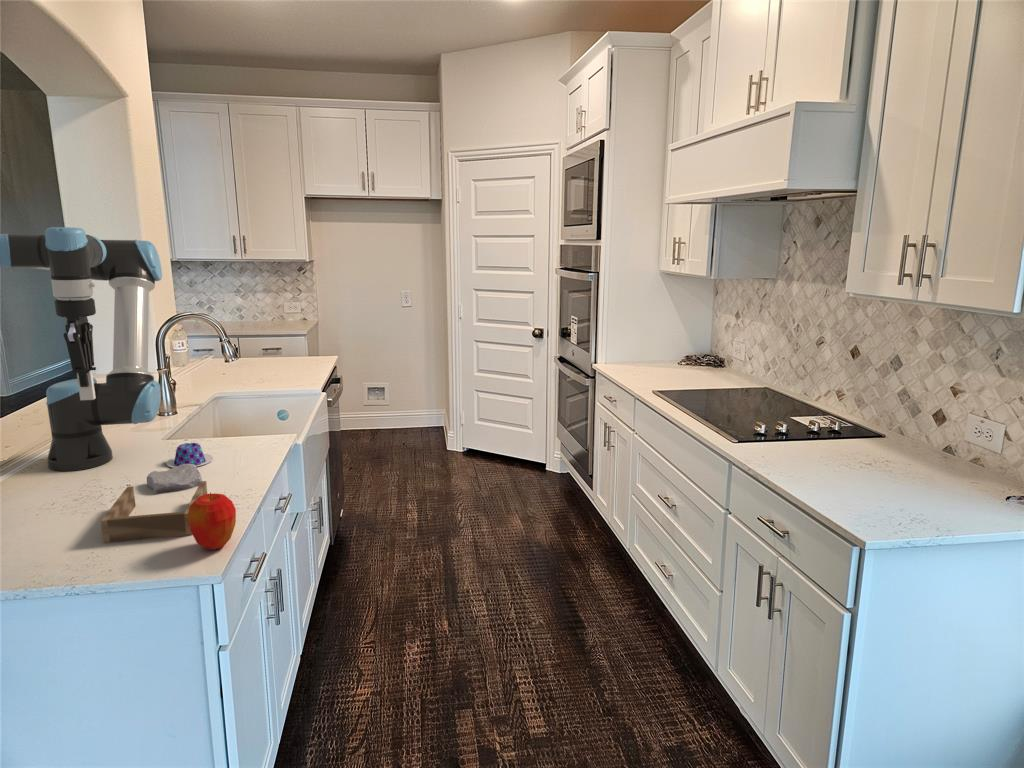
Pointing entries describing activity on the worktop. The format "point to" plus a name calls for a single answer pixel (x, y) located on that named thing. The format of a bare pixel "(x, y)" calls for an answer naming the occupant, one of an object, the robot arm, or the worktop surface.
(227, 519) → the apple
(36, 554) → the worktop surface
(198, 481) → the stone block
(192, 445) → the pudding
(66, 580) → the worktop surface
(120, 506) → the cubby
